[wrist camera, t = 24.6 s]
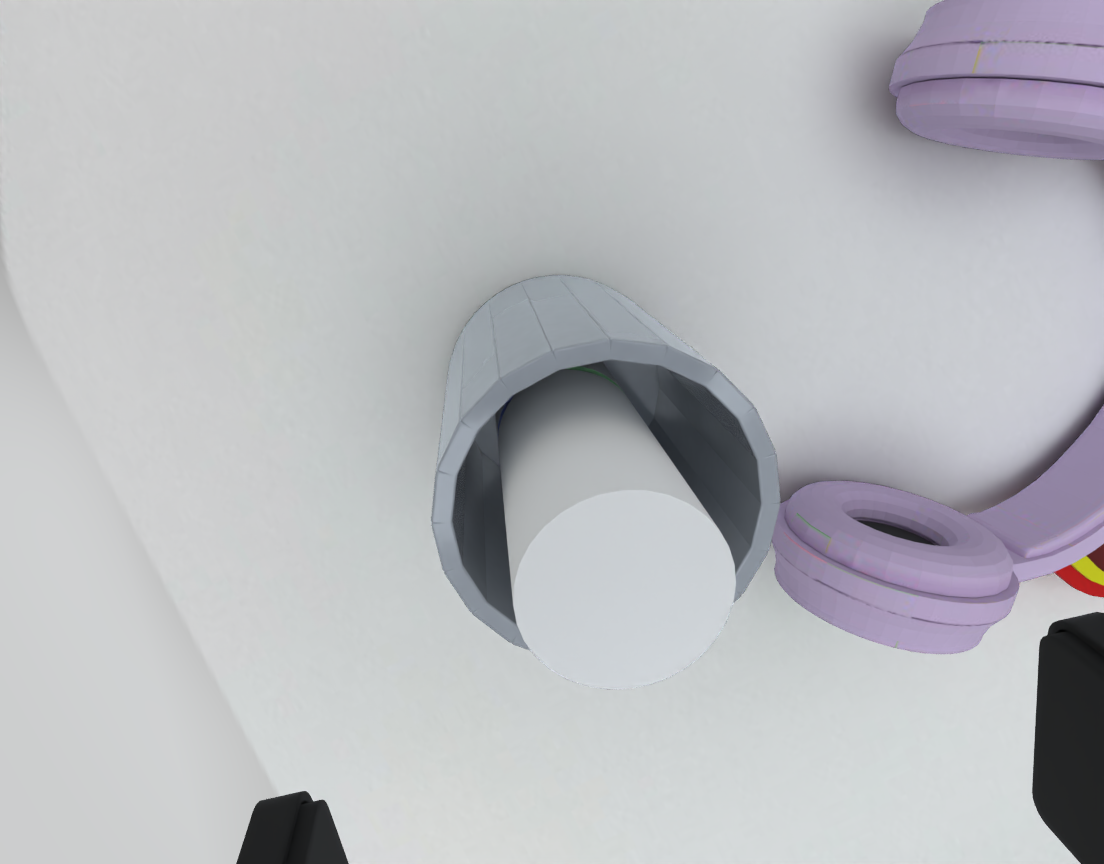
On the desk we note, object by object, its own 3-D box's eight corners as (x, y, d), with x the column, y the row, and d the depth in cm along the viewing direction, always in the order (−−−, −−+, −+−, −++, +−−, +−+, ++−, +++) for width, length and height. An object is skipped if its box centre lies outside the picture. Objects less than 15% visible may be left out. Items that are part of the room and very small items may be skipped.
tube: (625, 412, 29) (766, 633, 15) (523, 460, 30) (570, 722, 15) (579, 311, 28) (688, 450, 14) (472, 362, 28) (473, 551, 14)
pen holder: (473, 504, 31) (473, 693, 20) (425, 298, 28) (394, 381, 17) (676, 463, 31) (792, 625, 20) (649, 255, 29) (764, 308, 17)
